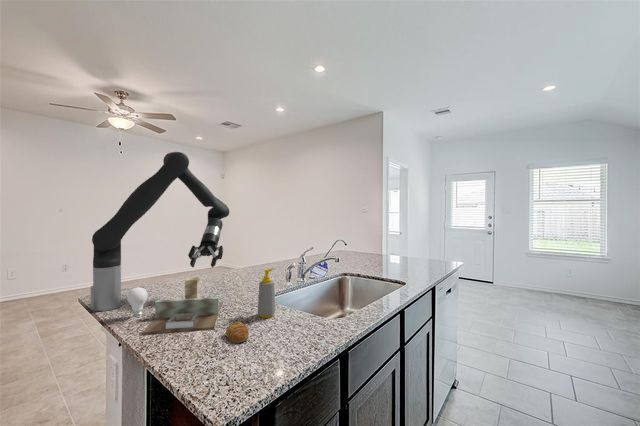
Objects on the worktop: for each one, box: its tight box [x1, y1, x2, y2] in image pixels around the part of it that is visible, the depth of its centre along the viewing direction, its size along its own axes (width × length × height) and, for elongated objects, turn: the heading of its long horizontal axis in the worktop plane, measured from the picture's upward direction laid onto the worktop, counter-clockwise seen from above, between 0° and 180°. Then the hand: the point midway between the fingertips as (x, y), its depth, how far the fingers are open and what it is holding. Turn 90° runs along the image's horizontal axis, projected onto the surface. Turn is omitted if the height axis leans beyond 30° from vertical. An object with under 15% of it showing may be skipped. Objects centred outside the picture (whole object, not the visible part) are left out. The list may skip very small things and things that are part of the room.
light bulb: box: [126, 287, 149, 316], centre depth 109 cm, size 7×7×11 cm
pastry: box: [225, 321, 250, 344], centre depth 92 cm, size 9×7×4 cm
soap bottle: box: [257, 267, 276, 319], centre depth 111 cm, size 7×7×18 cm
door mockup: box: [141, 296, 224, 336], centre depth 108 cm, size 22×26×7 cm
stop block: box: [184, 276, 201, 299], centre depth 115 cm, size 4×4×12 cm
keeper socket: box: [166, 313, 198, 330], centre depth 100 cm, size 8×8×2 cm
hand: (202, 266), depth 125 cm, fingers open, 8 cm apart
